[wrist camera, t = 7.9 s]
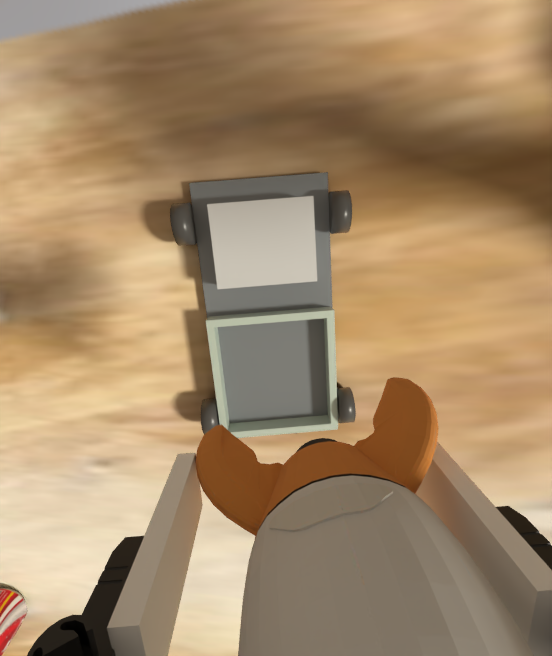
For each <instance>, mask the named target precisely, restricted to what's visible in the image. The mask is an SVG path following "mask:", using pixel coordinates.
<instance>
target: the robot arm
mask: <svg viewBox="0 0 552 656" xmlns="http://www.w3.org/2000/svg"><path fill="white" fill-rule="evenodd" d="M195 461H196V454H195V453H186V454H178V455H177V457H176V460H175V462H174V465H173V467H172V469H171V472H170V474H169V477H168V479H167V482H166V484H165V487H164V489H163V492H162V494H161V496H160V499H159V501H158V504H157V506H156V509H155V511H154V514H153V516H152V519H151V521H150V523H149V526H148V528H147V531H146V533H145V536H137V537H125V539H124V540H123V541H122V542H121V543H120V544H119V545H118V546H117V547H116V549H115V550H114V551H113V552H112V554H111V556H110V558H109V560H108V562H107V564H106V566H105V570H104V571H103V572H102V574H101V576H100V578H99V580H98V584H97V585H96V587H95V589H94V591H93V593H92V595H91V597H90V599H89V601H88V603H87V605H86V607H85V609H84V611H83V613H82V615H71V616H68V617H66V618H63V619H61V620H59V621H58V622H56V623H55V624H53V625H52V626H50V627H49V628H48V629H47V630H46V631H45V632H44V633H43V634H42V635H41V636H40V637H39V638H38V639H37V640H36V642H35V643H34V645H33V646H32V648H31V649H30V651H29V652H28V655H27V656H168V651H169V647H170V643H171V639H172V634H173V630H174V626H175V621H176V617H177V613H178V608H179V604H180V600H181V596H182V591H183V587H184V583H185V578H186V574H187V570H188V565H189V561H190V557H191V552H192V548H193V544H194V540H195V535H196V531H197V527H198V522H199V518H200V514H201V509H202V498H201V490H200V483H199V479H198V477H197V470H196V463H195ZM415 494H416V495H417V496H418V497H420V498H421V499H422V500H423V501H424V502H425V503H426V504H427V505H428V506H429V507H430V508H431V509H432V510H433V511H434V512H435V513H436V515H437V516H438V517H439V518H440V519H441V520H442V521H443V523H444V524H445V525H446V526H447V527H448V529H449V530H450V531H451V532H452V533H453V535H454V536H455V537H456V538H457V539H458V541H459V542H460V543H461V544H462V546H463V547H464V548H465V549H466V550H467V552H468V553H469V554H470V556H471V557H472V558H473V560H474V561H475V563H476V564H477V565H478V567H479V568H480V570H481V571H482V573H483V574H484V575H485V577H486V578H487V580H488V581H489V583H490V584H491V586H492V587H493V588H494V590H495V591H496V593H497V594H498V596H499V598H500V599H501V601H502V602H503V604H504V605H505V607H506V609H507V610H508V612H509V613H510V615H511V617H512V618H513V620H514V621H515V623H516V624H517V626H518V628H519V629H520V631H521V633H522V635H523V636H524V638H525V640H526V642H527V644H528V646H529V647H530V649H531V651H532V653H533V655H534V656H552V546H551V544H550V542H549V541H548V540H547V539H546V538H545V537H544V536H543V535H542V534H540V533H539V531H538V530H537V529H536V528H535V527H534V526H533V525H532V524H531V523H530V522H529V520H528V519H527V518H526V517H524V516H523V515H521V514H520V513H518V512H517V511H515V510H514V509H512V508H511V507H509V506H502V507H495V506H494V505H493V504H492V503H491V501H490V500H489V499H488V498H487V497H486V496H485V495H484V494H483V493H482V491H481V490H480V489H479V488H478V487H477V486H476V485H475V484H474V482H473V481H472V480H471V479H470V478H469V477H468V476H467V475H466V473H465V472H464V471H463V470H462V469H461V468H460V467H459V466H458V464H457V463H456V462H455V461H454V460H453V459H452V458H451V457H450V455H449V454H448V453H447V452H446V451H445V450H444V449H443V448H442V446H441V445H440V444H439V443H438V442H437V446H436V449H435V452H434V456H433V459H432V462H431V465H430V467H429V469H428V471H427V473H426V475H425V477H424V479H423V481H422V483H421V485H420V486H419V488H418V490H417V492H416V493H415Z"/></svg>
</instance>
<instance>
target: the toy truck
mask: <svg viewBox="0 0 552 656" xmlns="http://www.w3.org/2000/svg"><path fill="white" fill-rule="evenodd" d="M189 185H190V193H191V200H192V205H191V204H190V203H180V204H172V205H171V209H170V219H171V226H172V231H173V235H174V238H175V240H176V243H177V244H178V245H179V246H183V245H195V244H197V245H198V253H199V260H200V268H201V275H202V283H203V290H204V297H205V305H206V312H207V320H206V327H207V334H208V342H209V349H210V357H211V364H212V371H213V379H214V386H215V393H216V399H205V400H203V402H202V407H201V425H202V430H203V433H204V435H205V434H206V433H207V432H208V431H209V430H211V429H212V428H213V427H215V426H217V425H221V424H222V425H223V426H224V427H225V428H226V429H227V430H228V431H229V432H231V433H232V434H233V435H234V436H235V437H236V438H243V437H255V436H266V435H278V434H290V433H301V432H313V431H324V430H336V429H338V422H339V423H349V422H354V421H355V403H354V398H353V394H352V391H351V389H350V388H349V387H346V388H337V380H336V350H335V319H334V309H332V283H331V254H330V233H331V234H334V233H346V232H348V231H349V229H350V226H351V219H352V203H351V197H350V193H349V191H347V190H346V191H334V192H330V193H329V196H328V172H326V173H313V174H300V175H287V176H274V177H261V178H248V179H236V180H223V181H210V182H197V183H189Z"/></svg>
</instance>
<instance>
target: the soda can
mask: <svg viewBox="0 0 552 656" xmlns="http://www.w3.org/2000/svg"><path fill="white" fill-rule="evenodd" d="M26 614H27V604H26V602H25V600H24V598H23V596H22V595H21V594H20V593H19V592H18V591H16V590H13V589H10V588H0V656H2V654H3V653H4V651H5V650H6V648H7V646H8V645H9V643H10V642H11V640H12V639H13V637H14V635H15V634H16V632H17V631H18V629H19V627H20V625H21V624H22V622H23V620H24V618H25V616H26Z"/></svg>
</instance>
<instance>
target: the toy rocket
mask: <svg viewBox="0 0 552 656" xmlns="http://www.w3.org/2000/svg"><path fill="white" fill-rule="evenodd" d="M373 425H374V429H375V431H374V433H373V434H372V435H370V436H369V437H368V438H366V439H364V440H360V441H358V442H357V443H356V444H355V446H352V445H350V444H346V443H342V442H337V441H335V440H332V439H325V438H321V439H315V440H311V441H309V442H307V443H305V444H304V445H303V446H301V447H300V448H299V449H298V450H297V452H296V453H295V454H294V455H292V456H291V457H290V458H289V459H288V460H287V462H286V463H285V464H284V465H282V464H280V463H274V464H270V465H269V464H260V463H259V462H258V461H257V458H256V455H255V453H254V451H253V450H252V449H250V448H249V447H248V446H247V445H245V444H244V443H243V442H241V441H240V440H239V439H238V438H236V437H235V436H234V435H233V434H232V433H231V432H229V431H228V430H227V429H226V428H225V427H224V426H223V425H222V424H221V425H217V426H215V427H213V428H212V429H211V430H209V431H208V432H207V433H206V434H205V435H204V436H203V438H202V440H201V442H200V444H199V447H198V449H197V455H196V461H195V463H196V470H197V477H198V479H199V482H200V484H201V487H202V489H203V491H204V492H205V494H206V495H207V497H208V498H209V499H210V501H211V502H212V504H213V505H214V506H215V507H216V508H217V509H218V510H220V511H221V512H222V513H223V514H224V515H225V516H226V517H227V518H229V519H230V520H232V521H233V522H235V523H236V524H237V525H239V526H240V527H242V528H243V529H245V530H247V531H248V532H250V533H252V534H253V535H255V536H256V537H255V541H254V544H253V548H252V551H251V555H250V559H249V564H248V570H247V576H246V582H245V589H244V596H243V605H242V616H241V628H240V640H239V652H238V656H534V655H533V653H532V651H531V649H530V647H529V646H528V644H527V642H526V640H525V638H524V636H523V635H522V633H521V631H520V629H519V628H518V626H517V624H516V623H515V621H514V620H513V618H512V617H511V615H510V613H509V612H508V610H507V609H506V607H505V605H504V604H503V602H502V601H501V599H500V598H499V596H498V594H497V593H496V591H495V590H494V588H493V587H492V586H491V584H490V583H489V581H488V580H487V578H486V577H485V575H484V574H483V573H482V571H481V570H480V568H479V567H478V565H477V564H476V563H475V561H474V560H473V558H472V557H471V556H470V554H469V553H468V552H467V550H466V549H465V548H464V547H463V546H462V544H461V543H460V542H459V541H458V539H457V538H456V537H455V536H454V535H453V533H452V532H451V531H450V530H449V529H448V527H447V526H446V525H445V524H444V523H443V521H442V520H441V519H440V518H439V517H438V516H437V515H436V513H435V512H434V511H433V510H432V509H431V508H430V507H429V506H428V505H427V504H426V503H425V502H424V501H423V500H422V499H421V498H420V497H418V496H417V495H416V494H415V493H416V492H417V490H418V488H419V486H420V485H421V483H422V481H423V479H424V477H425V475H426V473H427V471H428V469H429V467H430V465H431V462H432V459H433V456H434V452H435V449H436V446H437V436H438V422H437V414H436V411H435V408H434V406H433V404H432V401H431V399H430V398H429V396H428V395H427V394H426V393H425V392H424V390H423V389H422V388H421V387H419V386H418V385H416V384H415V383H413V382H412V381H410V380H408V379H403V378H390V379H388V380H387V383H386V386H385V389H384V392H383V395H382V398H381V400H380V403H379V405H378V408H377V410H376V413H375V415H374V418H373Z"/></svg>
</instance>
